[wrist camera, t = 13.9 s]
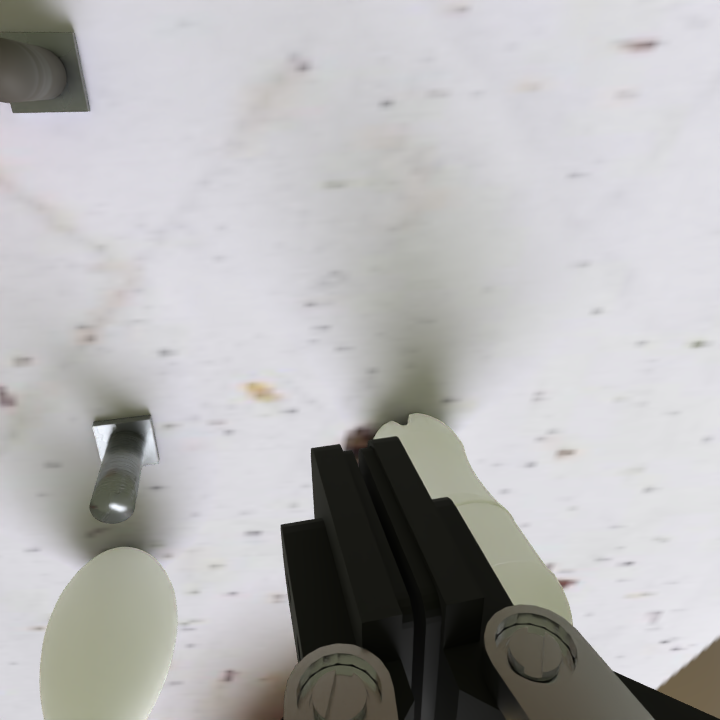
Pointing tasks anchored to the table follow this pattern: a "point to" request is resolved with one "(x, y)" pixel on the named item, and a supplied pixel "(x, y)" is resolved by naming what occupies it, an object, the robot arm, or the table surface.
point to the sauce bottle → (109, 640)
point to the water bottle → (478, 512)
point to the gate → (29, 72)
